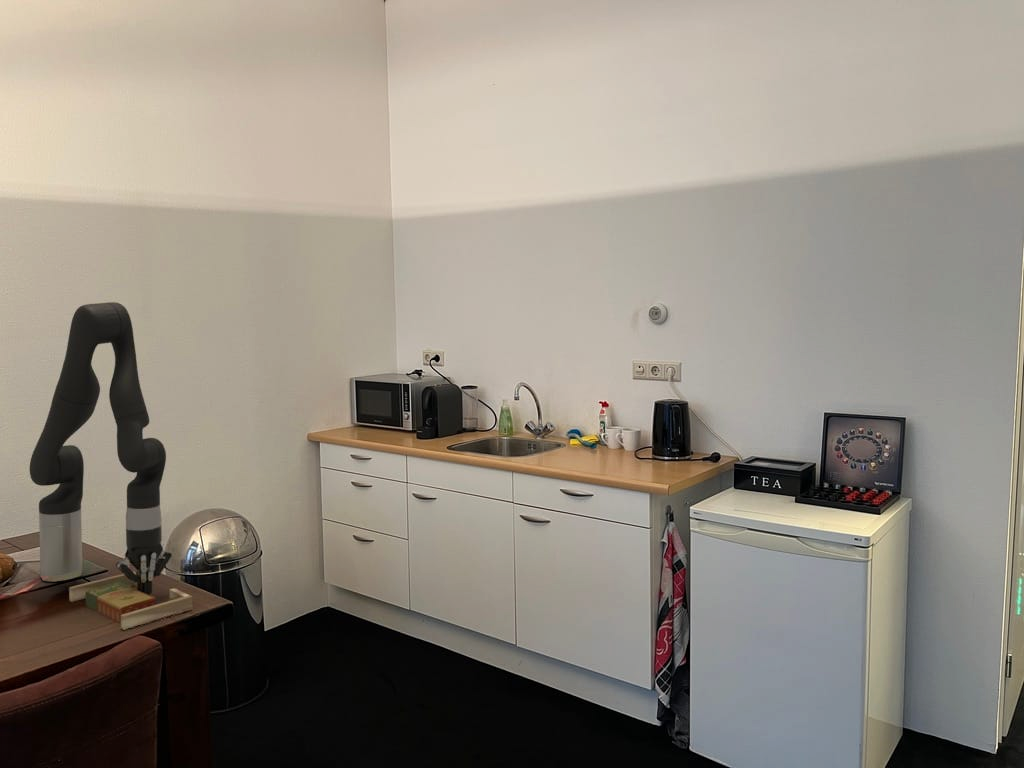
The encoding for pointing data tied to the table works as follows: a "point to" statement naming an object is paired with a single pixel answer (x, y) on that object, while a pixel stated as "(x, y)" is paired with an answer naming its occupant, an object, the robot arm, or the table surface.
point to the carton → (117, 600)
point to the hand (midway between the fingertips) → (144, 596)
